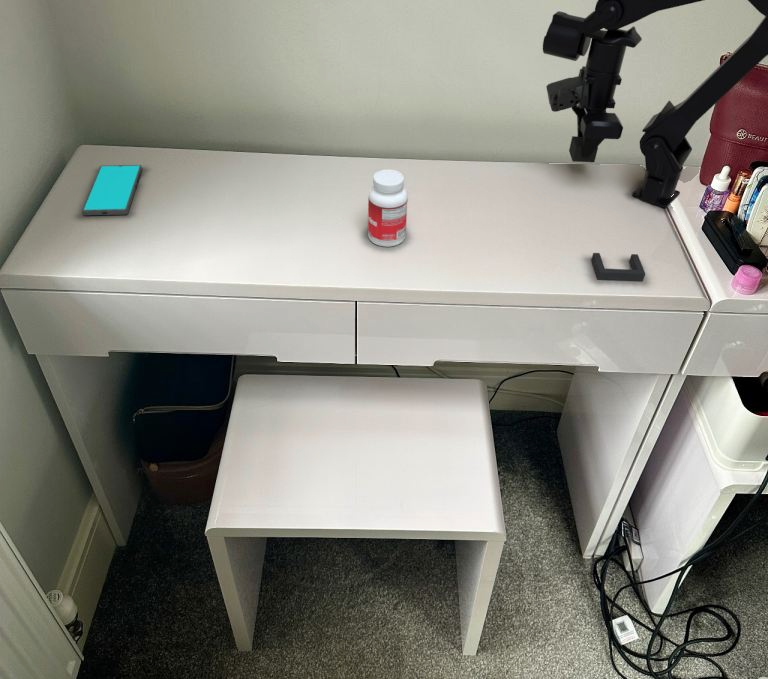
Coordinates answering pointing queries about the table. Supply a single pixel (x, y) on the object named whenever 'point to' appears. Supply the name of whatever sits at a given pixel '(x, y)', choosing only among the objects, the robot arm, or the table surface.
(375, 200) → the pill bottle
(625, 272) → the black u-shaped bracket
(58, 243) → the table surface
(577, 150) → the dark grey block
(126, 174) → the smartphone
